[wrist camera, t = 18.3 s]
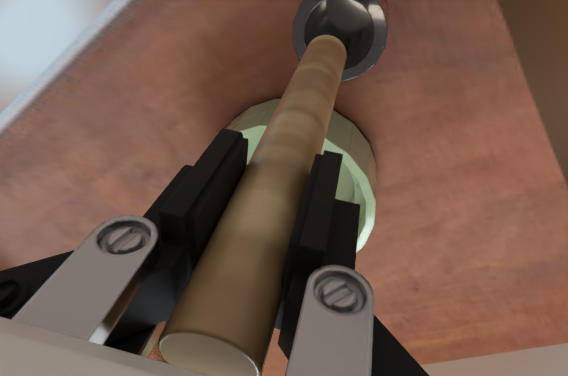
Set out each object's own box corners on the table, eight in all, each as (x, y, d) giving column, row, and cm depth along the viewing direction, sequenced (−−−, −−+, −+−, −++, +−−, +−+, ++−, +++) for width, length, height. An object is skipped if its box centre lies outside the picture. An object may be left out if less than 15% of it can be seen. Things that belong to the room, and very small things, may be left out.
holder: (295, -10, 30) (278, 5, 25) (374, -44, 27) (371, -35, 23) (322, 65, 32) (311, 92, 28) (395, 40, 30) (397, 64, 25)
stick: (299, 43, 19) (135, 334, 7) (337, 27, 18) (224, 326, 6) (315, 80, 20) (194, 391, 8) (352, 66, 19) (279, 390, 7)
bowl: (193, 123, 38) (165, 153, 33) (347, 72, 32) (340, 100, 28) (258, 242, 45) (243, 281, 41) (395, 218, 40) (396, 260, 35)
